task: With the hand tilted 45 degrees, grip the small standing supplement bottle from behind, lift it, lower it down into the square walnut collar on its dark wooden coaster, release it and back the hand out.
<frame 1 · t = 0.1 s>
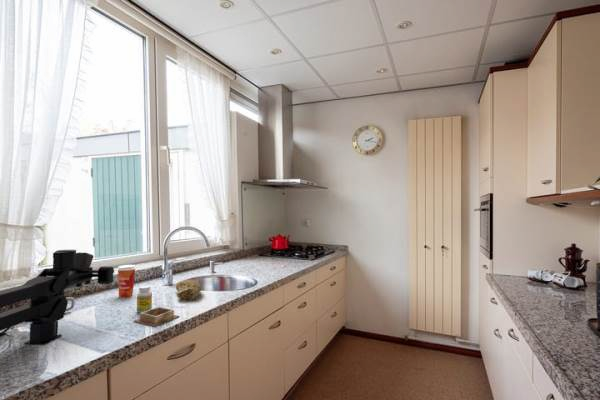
hand: (102, 270, 119), 17 cm above the worktop, tool horizontal, fingers open, 9 cm apart
supplement bottle: (144, 311, 121), on the worktop
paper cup: (125, 296, 141), on the worktop
walnut collar: (156, 319, 112), on the worktop
sponge: (187, 295, 144), on the worktop
mug: (59, 315, 115), on the worktop
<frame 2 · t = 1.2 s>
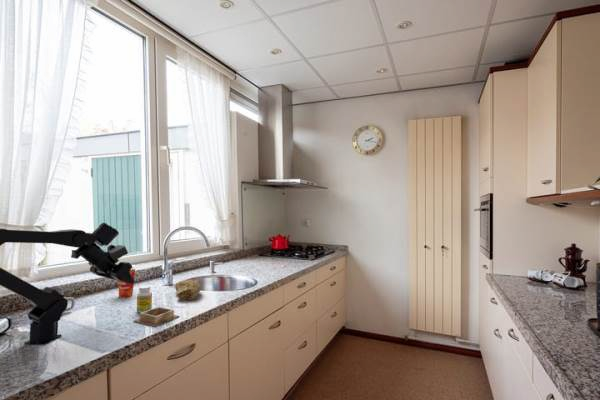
hand: (126, 281, 115), 13 cm above the worktop, tool tilted 45°, fingers open, 9 cm apart
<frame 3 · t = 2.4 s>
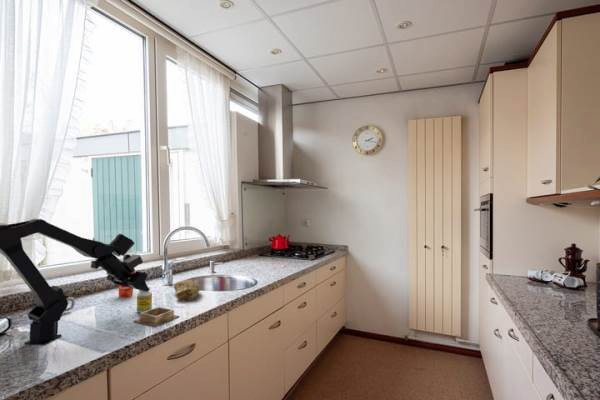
hand: (141, 288, 120), 9 cm above the worktop, tool tilted 45°, fingers open, 9 cm apart
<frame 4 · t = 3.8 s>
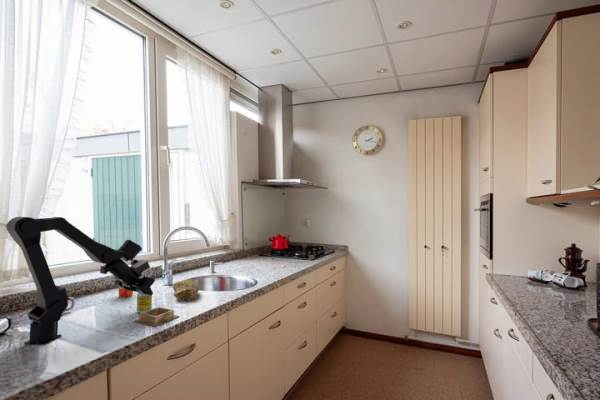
hand: (147, 293, 123), 7 cm above the worktop, tool tilted 45°, fingers closed on supplement bottle, 5 cm apart
supplement bottle: (144, 311, 121), on the worktop, touching gripper
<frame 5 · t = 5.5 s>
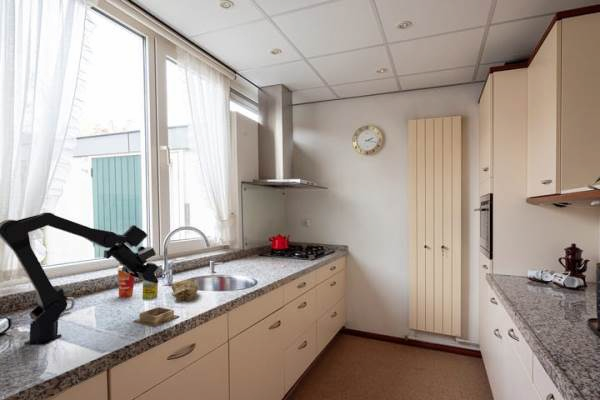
hand: (154, 281, 120), 12 cm above the worktop, tool tilted 45°, fingers closed on supplement bottle, 5 cm apart
supplement bottle: (149, 299, 119), point 5 cm above the worktop, touching gripper
when the fingers open (8 cm above the worktop, at t = 7.4 s): supplement bottle drops 1 cm, resting on walnut collar.
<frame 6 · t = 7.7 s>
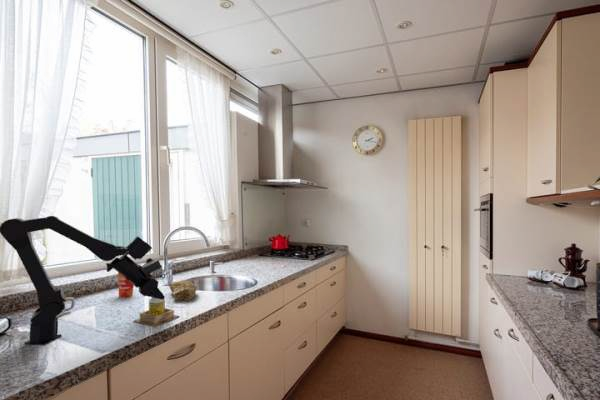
hand: (161, 295, 113), 9 cm above the worktop, tool tilted 45°, fingers open, 8 cm apart
supplement bottle: (156, 318, 112), resting on walnut collar
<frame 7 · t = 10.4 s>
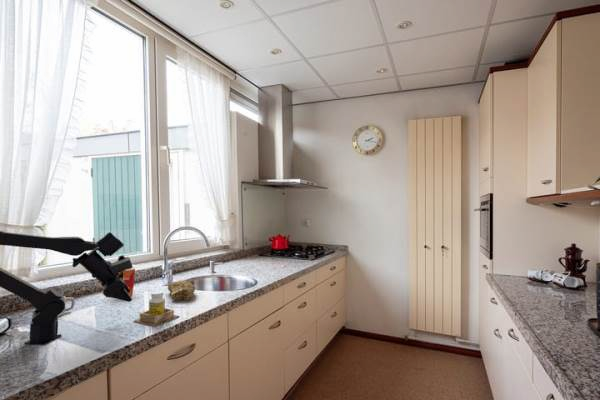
hand: (130, 296, 108), 10 cm above the worktop, tool tilted 40°, fingers open, 9 cm apart
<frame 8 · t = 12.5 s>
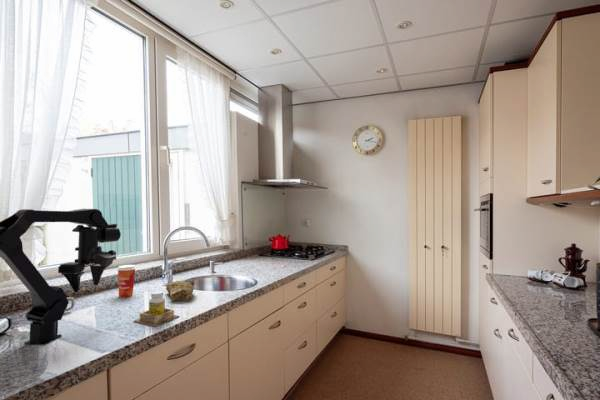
hand: (86, 288, 105), 13 cm above the worktop, tool pointing down, fingers open, 9 cm apart
at the end: supplement bottle 0.1 cm from the walnut collar (horizontally); supplement bottle resting on walnut collar; supplement bottle tilted 0° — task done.
